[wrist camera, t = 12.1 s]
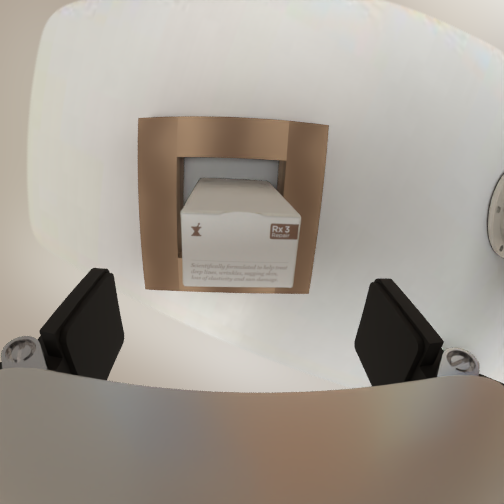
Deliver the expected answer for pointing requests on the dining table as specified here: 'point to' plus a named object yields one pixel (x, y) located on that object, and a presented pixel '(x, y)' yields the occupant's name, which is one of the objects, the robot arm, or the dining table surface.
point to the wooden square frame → (225, 146)
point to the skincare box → (238, 235)
